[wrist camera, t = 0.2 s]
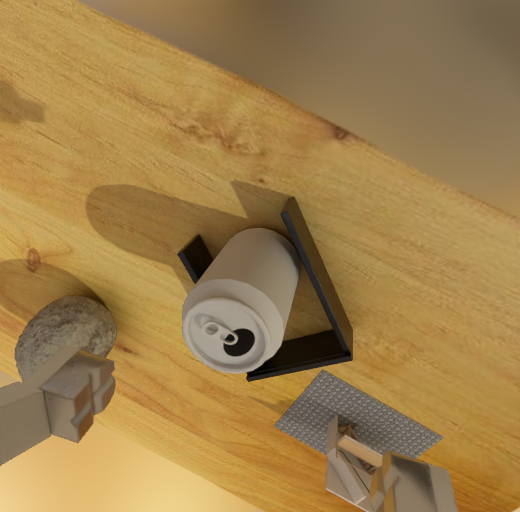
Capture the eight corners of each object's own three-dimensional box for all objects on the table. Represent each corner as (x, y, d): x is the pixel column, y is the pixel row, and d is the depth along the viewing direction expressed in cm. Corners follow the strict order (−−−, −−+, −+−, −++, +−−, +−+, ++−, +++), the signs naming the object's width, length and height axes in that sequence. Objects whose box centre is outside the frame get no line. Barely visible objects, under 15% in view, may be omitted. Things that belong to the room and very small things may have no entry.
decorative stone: (83, 264, 40) (8, 317, 31) (145, 312, 41) (89, 376, 32) (50, 317, 45) (-23, 375, 36) (106, 358, 46) (49, 425, 37)
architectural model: (343, 407, 40) (342, 471, 34) (397, 437, 41) (406, 506, 34) (327, 424, 42) (323, 487, 36) (379, 453, 42) (384, 521, 36)
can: (270, 308, 37) (237, 399, 26) (211, 263, 36) (153, 338, 26) (318, 258, 33) (303, 342, 23) (254, 207, 33) (207, 269, 22)
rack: (194, 236, 35) (174, 256, 31) (294, 196, 31) (286, 213, 27) (258, 352, 40) (248, 382, 36) (352, 329, 36) (353, 361, 32)
